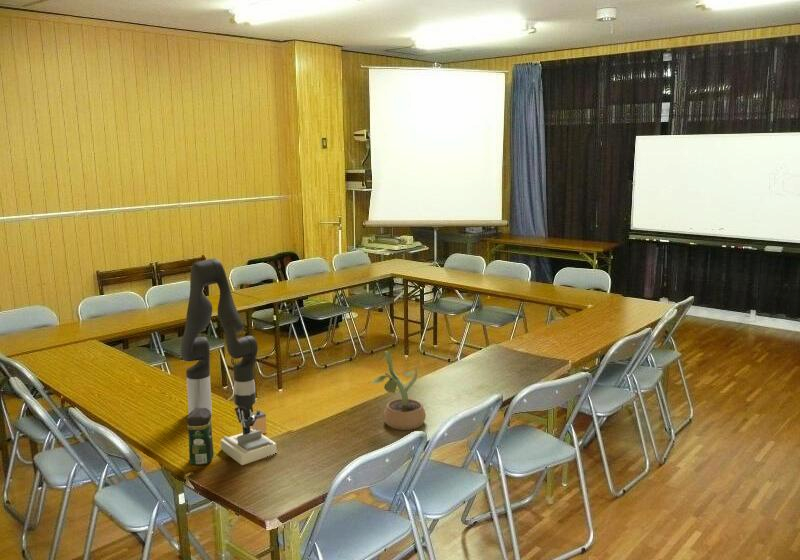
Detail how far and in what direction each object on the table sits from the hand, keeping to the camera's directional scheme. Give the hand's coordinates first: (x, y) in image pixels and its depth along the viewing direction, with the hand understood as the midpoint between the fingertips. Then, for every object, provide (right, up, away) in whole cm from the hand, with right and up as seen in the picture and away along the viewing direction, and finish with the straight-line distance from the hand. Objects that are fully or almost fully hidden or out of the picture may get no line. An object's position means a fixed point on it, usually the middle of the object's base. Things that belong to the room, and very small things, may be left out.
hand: (246, 435), depth 250 cm
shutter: (+3, -2, -3) cm, 5 cm away
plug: (+1, -3, +16) cm, 17 cm away
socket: (+1, -6, 0) cm, 6 cm away
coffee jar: (-15, -8, -6) cm, 18 cm away
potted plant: (+55, -1, +27) cm, 62 cm away
